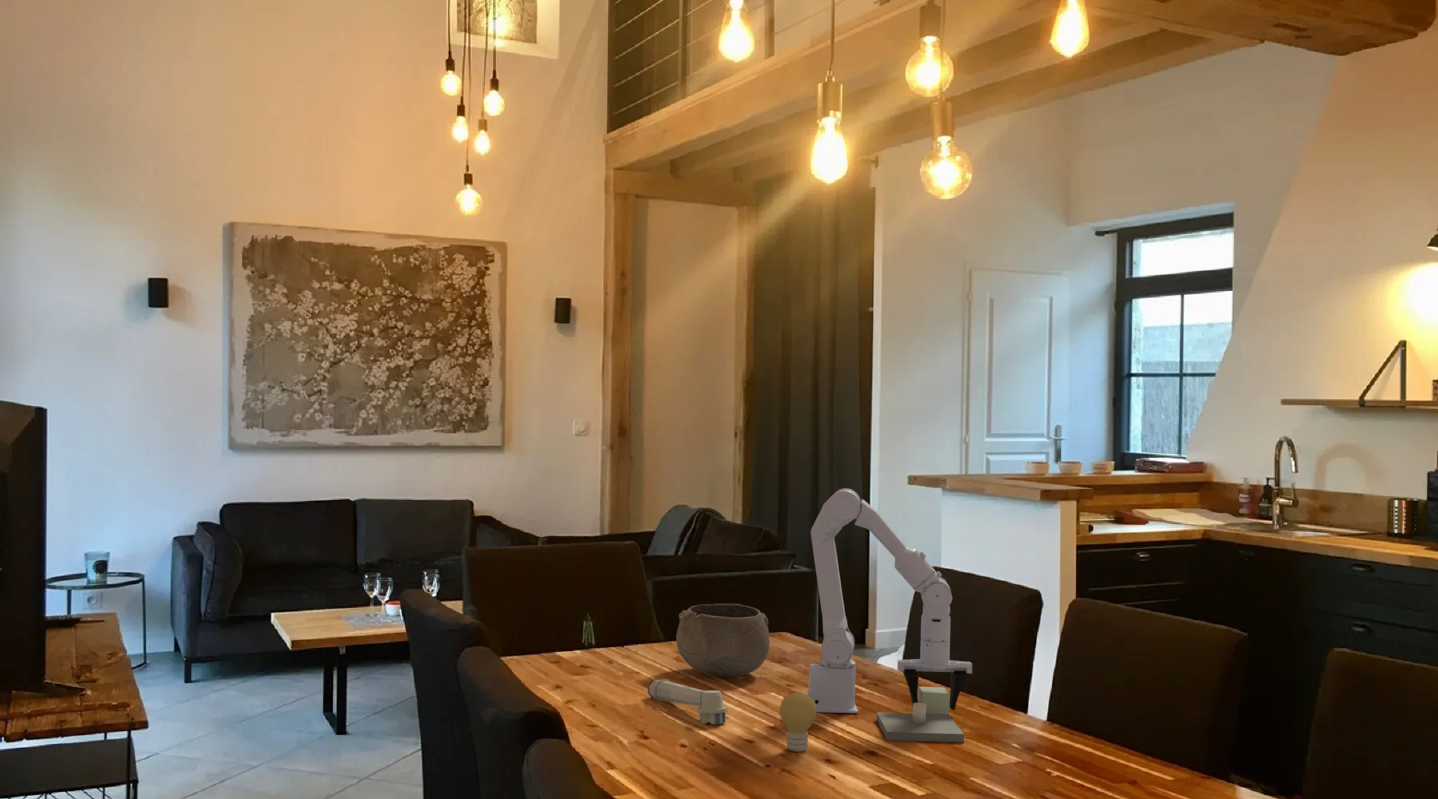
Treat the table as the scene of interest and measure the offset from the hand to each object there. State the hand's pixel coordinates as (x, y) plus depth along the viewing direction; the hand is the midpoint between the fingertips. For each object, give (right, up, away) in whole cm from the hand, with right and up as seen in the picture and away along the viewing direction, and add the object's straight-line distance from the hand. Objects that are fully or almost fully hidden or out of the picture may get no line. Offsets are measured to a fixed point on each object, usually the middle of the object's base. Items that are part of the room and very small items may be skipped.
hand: (933, 708), depth 228 cm
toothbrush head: (-49, -1, -2) cm, 49 cm away
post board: (-5, -1, -12) cm, 13 cm away
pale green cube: (0, -1, 0) cm, 1 cm away
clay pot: (-42, -1, +31) cm, 52 cm away
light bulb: (-29, 0, -27) cm, 40 cm away
